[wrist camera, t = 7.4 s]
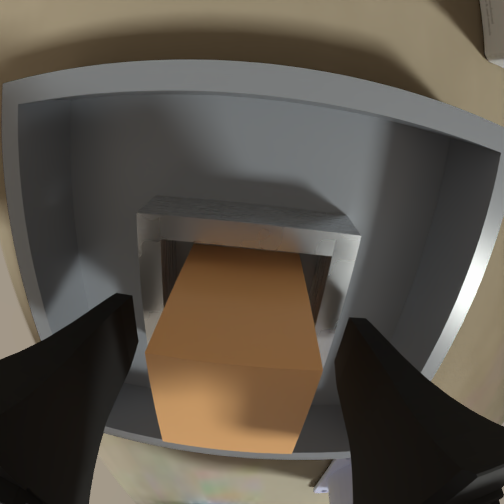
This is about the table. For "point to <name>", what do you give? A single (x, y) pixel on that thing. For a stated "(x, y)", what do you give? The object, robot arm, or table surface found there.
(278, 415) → the orange brown rectangular block
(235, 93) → the walled box
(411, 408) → the robot arm
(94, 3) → the table surface
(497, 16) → the ink box
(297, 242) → the socket
